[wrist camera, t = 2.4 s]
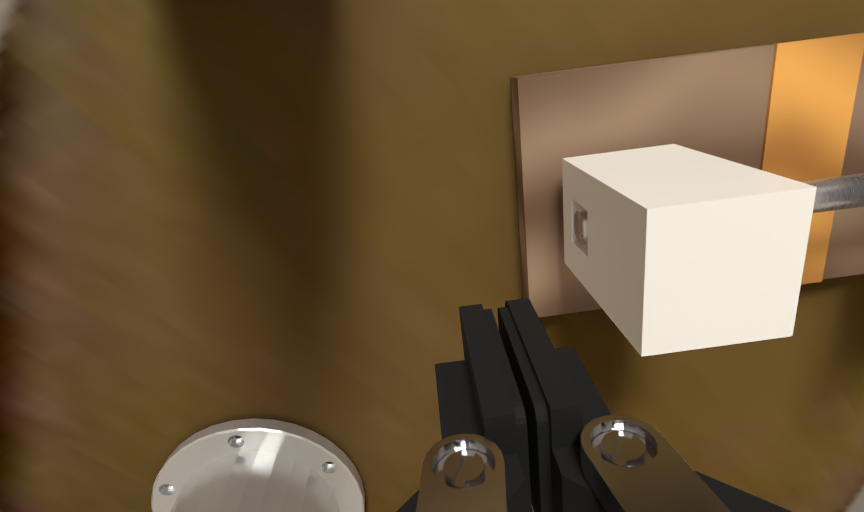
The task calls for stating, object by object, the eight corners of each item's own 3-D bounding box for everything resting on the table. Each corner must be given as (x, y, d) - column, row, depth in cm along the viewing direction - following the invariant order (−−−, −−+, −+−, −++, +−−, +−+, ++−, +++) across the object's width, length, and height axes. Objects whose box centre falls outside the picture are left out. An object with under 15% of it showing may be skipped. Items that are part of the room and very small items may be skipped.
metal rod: (944, 188, 22) (978, 196, 21) (574, 237, 22) (585, 248, 21) (952, 156, 22) (987, 162, 20) (573, 206, 22) (584, 216, 20)
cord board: (947, 249, 28) (979, 260, 27) (523, 306, 28) (530, 320, 26) (1013, 11, 24) (1055, 8, 22) (510, 75, 24) (518, 76, 22)
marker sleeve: (667, 249, 24) (792, 335, 17) (564, 262, 24) (641, 356, 16) (673, 143, 22) (817, 186, 15) (561, 158, 22) (647, 209, 15)
